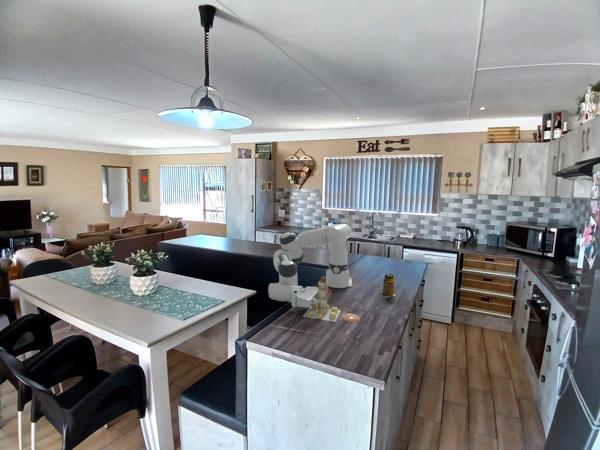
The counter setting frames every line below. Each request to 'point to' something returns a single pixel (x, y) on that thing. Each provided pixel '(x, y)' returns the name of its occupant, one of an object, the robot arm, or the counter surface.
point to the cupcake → (329, 293)
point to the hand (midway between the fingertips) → (324, 298)
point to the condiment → (388, 286)
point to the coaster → (350, 317)
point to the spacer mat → (325, 317)
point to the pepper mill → (322, 295)
